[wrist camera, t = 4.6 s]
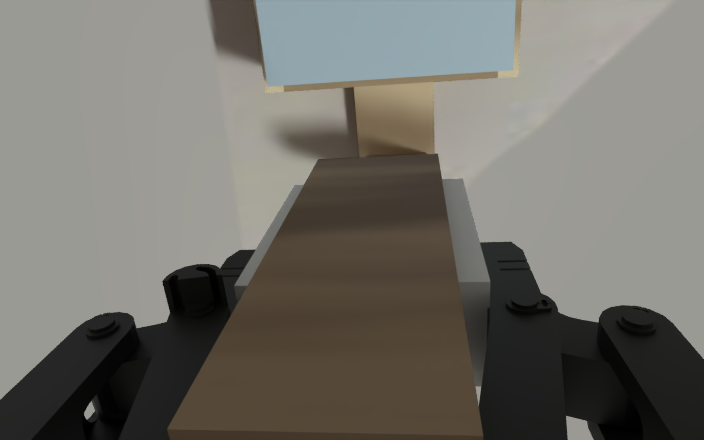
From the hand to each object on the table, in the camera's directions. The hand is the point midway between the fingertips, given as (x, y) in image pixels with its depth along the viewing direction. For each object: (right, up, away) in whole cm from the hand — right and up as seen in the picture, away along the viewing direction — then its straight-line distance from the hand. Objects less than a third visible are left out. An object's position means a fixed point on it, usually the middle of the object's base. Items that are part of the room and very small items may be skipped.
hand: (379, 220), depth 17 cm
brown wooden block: (0, 0, +1) cm, 1 cm away
